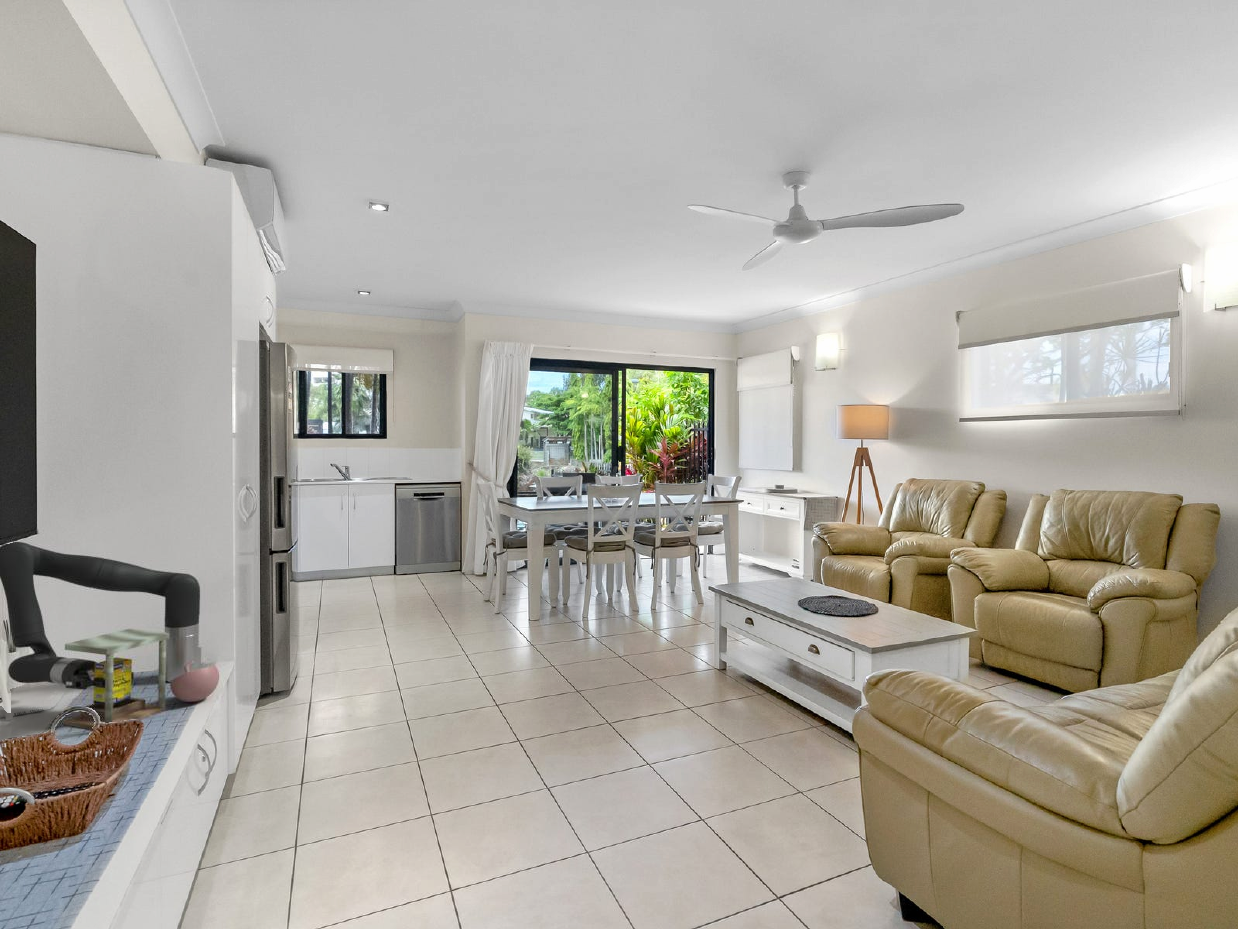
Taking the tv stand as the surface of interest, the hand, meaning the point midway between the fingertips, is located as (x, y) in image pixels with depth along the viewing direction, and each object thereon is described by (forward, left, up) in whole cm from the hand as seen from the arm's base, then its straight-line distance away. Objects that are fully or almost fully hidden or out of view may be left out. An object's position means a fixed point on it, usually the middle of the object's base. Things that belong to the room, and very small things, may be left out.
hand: (119, 680), depth 177 cm
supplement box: (0, -2, -6) cm, 7 cm away
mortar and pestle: (-16, +8, -11) cm, 21 cm away
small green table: (0, -2, -10) cm, 11 cm away
